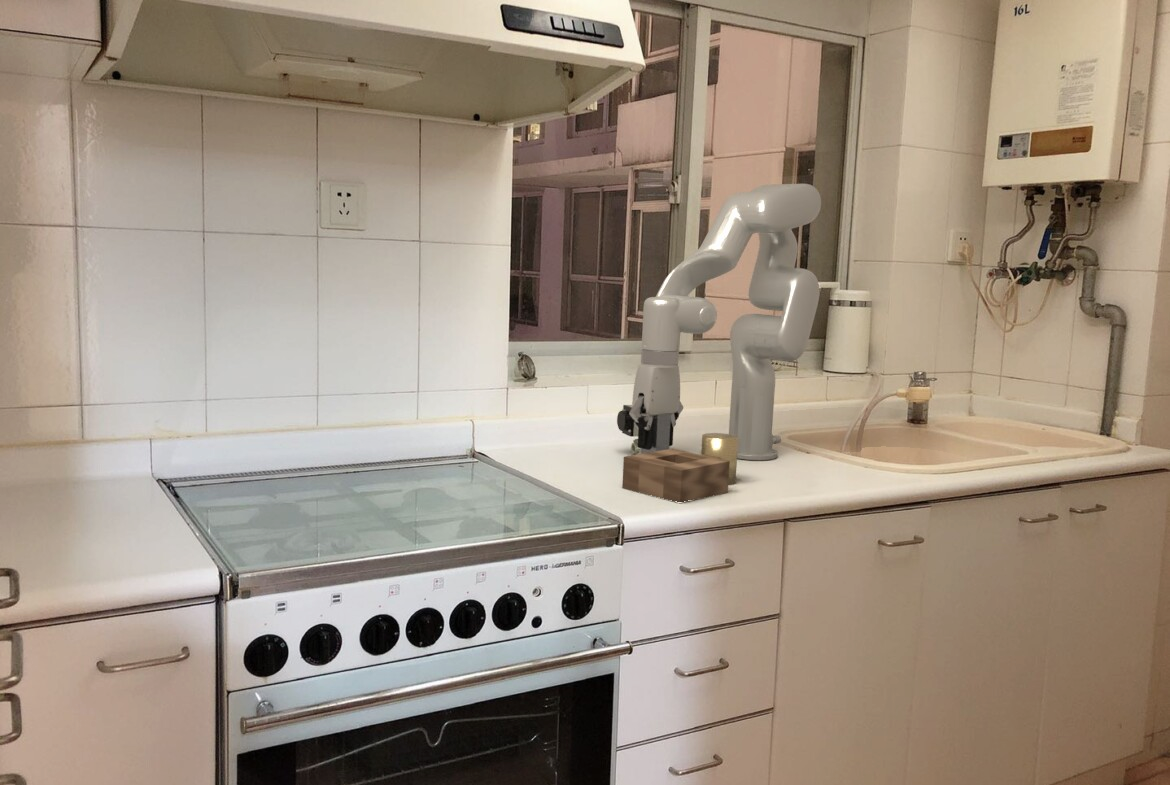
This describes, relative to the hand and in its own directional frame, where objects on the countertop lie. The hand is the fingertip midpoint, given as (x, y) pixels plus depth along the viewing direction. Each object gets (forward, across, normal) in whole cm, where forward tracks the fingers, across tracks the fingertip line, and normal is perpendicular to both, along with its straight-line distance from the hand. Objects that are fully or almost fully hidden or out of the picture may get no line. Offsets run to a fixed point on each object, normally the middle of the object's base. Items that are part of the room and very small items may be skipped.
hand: (655, 445), depth 200 cm
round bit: (+5, -3, +14) cm, 15 cm away
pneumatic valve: (+5, -10, -12) cm, 16 cm away
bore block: (+5, +10, +14) cm, 18 cm away
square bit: (+5, 0, 0) cm, 5 cm away
